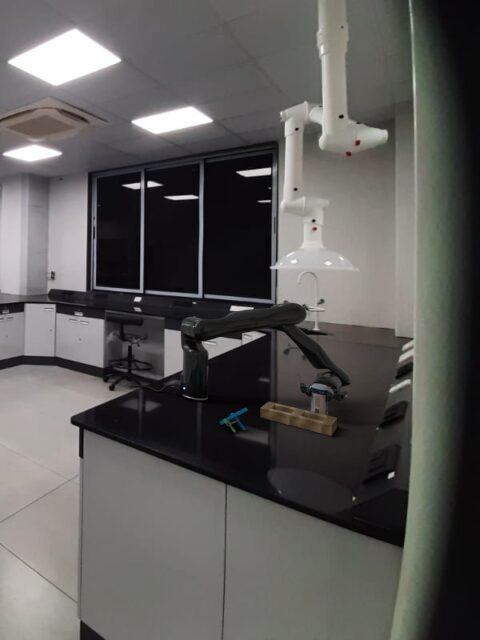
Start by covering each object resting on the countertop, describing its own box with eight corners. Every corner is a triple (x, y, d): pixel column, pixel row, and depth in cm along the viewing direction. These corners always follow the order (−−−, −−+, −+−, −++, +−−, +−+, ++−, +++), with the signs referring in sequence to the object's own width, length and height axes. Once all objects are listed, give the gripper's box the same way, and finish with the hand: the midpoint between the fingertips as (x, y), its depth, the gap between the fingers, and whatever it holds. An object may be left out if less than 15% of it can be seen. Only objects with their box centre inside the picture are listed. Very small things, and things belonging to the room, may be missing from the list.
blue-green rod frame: (229, 415, 143) (250, 402, 136) (242, 431, 140) (264, 419, 133) (210, 424, 138) (230, 412, 131) (223, 441, 135) (245, 429, 128)
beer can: (331, 420, 144) (331, 387, 144) (315, 419, 145) (316, 386, 145) (322, 415, 149) (322, 383, 149) (307, 414, 150) (308, 382, 150)
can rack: (260, 417, 147) (260, 407, 147) (268, 410, 154) (268, 401, 154) (331, 436, 132) (331, 425, 132) (336, 427, 139) (337, 417, 139)
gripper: (303, 372, 162) (293, 380, 151) (351, 381, 151) (345, 391, 140) (302, 391, 162) (292, 400, 151) (351, 401, 151) (344, 412, 140)
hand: (318, 396), depth 145 cm, fingers closed on beer can, 4 cm apart
